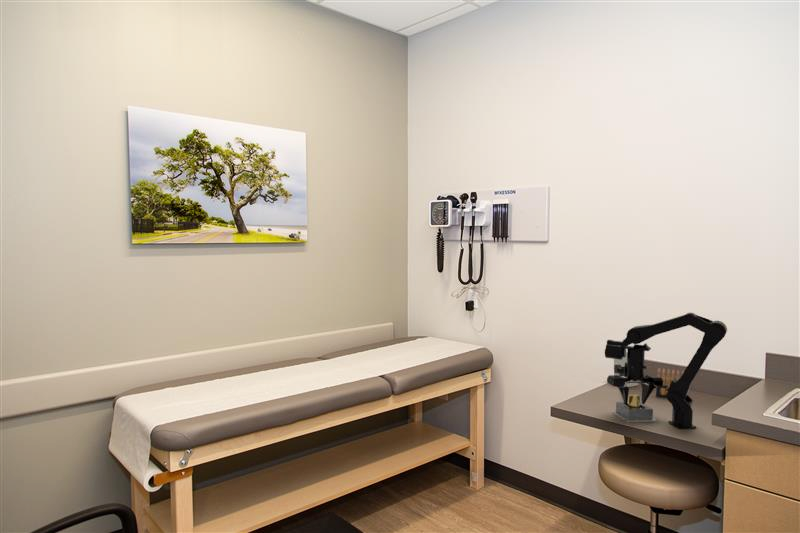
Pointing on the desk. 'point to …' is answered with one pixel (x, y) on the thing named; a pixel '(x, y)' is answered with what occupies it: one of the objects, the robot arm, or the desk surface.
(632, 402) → the bushing
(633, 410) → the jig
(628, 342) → the robot arm
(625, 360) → the skincare box
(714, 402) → the desk surface
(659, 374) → the ammunition clip
